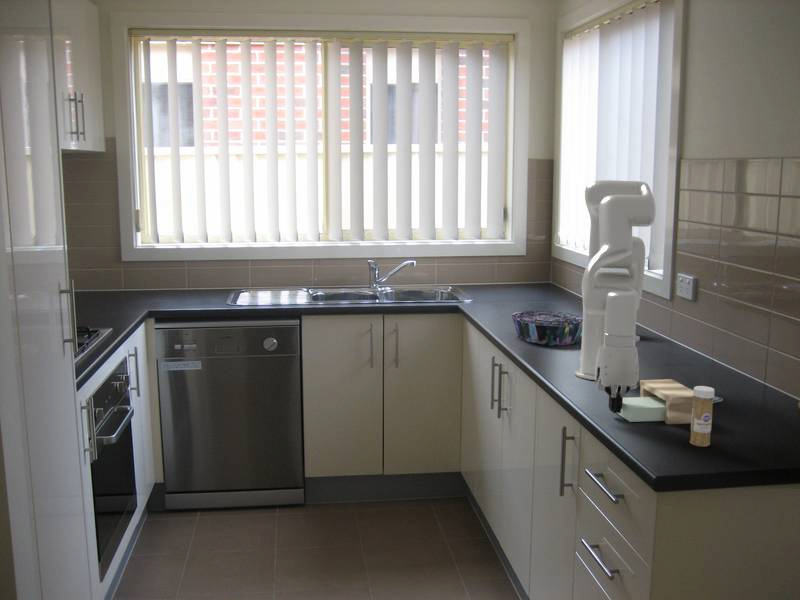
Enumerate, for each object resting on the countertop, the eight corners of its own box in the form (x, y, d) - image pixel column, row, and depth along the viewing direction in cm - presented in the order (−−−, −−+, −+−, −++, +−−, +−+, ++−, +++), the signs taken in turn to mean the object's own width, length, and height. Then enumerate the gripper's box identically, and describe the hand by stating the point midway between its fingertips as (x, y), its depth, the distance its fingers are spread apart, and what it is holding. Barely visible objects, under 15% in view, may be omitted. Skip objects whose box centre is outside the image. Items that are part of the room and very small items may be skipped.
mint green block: (613, 410, 219) (614, 397, 219) (669, 409, 223) (671, 396, 222) (629, 421, 211) (630, 408, 210) (688, 419, 214) (689, 406, 213)
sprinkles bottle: (699, 448, 193) (703, 391, 191) (685, 442, 197) (689, 386, 195) (714, 445, 195) (719, 389, 193) (700, 439, 199) (704, 384, 197)
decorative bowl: (562, 335, 321) (562, 308, 320) (601, 345, 295) (602, 316, 294) (500, 338, 313) (500, 311, 312) (535, 349, 287) (535, 320, 286)
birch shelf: (638, 405, 225) (640, 380, 224) (669, 404, 227) (671, 379, 226) (669, 424, 210) (671, 397, 209) (702, 423, 212) (704, 396, 210)
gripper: (640, 337, 217) (635, 406, 220) (585, 338, 214) (581, 408, 217) (654, 343, 209) (649, 415, 212) (597, 344, 207) (593, 417, 210)
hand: (615, 411), depth 215 cm, fingers closed
